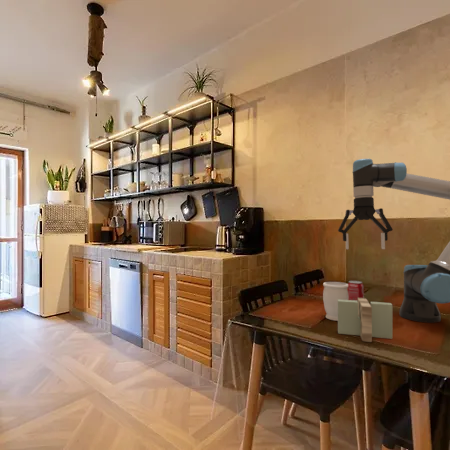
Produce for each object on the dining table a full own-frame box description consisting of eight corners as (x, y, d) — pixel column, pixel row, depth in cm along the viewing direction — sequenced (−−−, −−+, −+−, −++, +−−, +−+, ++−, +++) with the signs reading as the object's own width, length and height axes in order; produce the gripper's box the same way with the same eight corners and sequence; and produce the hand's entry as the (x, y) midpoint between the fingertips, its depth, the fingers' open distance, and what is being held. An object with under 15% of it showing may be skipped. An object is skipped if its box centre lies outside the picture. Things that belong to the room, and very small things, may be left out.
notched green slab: (390, 335, 109) (390, 302, 110) (392, 338, 107) (392, 305, 107) (337, 330, 115) (337, 299, 115) (338, 333, 112) (338, 301, 112)
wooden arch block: (371, 342, 104) (371, 307, 104) (362, 341, 105) (362, 306, 105) (365, 328, 117) (365, 298, 117) (357, 328, 118) (357, 297, 118)
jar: (328, 313, 138) (328, 280, 138) (351, 317, 131) (351, 283, 132) (319, 318, 130) (319, 284, 130) (343, 323, 123) (343, 287, 123)
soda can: (365, 311, 142) (365, 283, 142) (349, 310, 143) (349, 282, 143) (361, 307, 148) (361, 280, 149) (346, 306, 150) (346, 280, 150)
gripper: (394, 196, 124) (396, 248, 124) (330, 199, 130) (332, 248, 130) (400, 194, 117) (401, 249, 117) (332, 198, 123) (333, 249, 123)
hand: (365, 249), depth 123 cm, fingers open, 13 cm apart
